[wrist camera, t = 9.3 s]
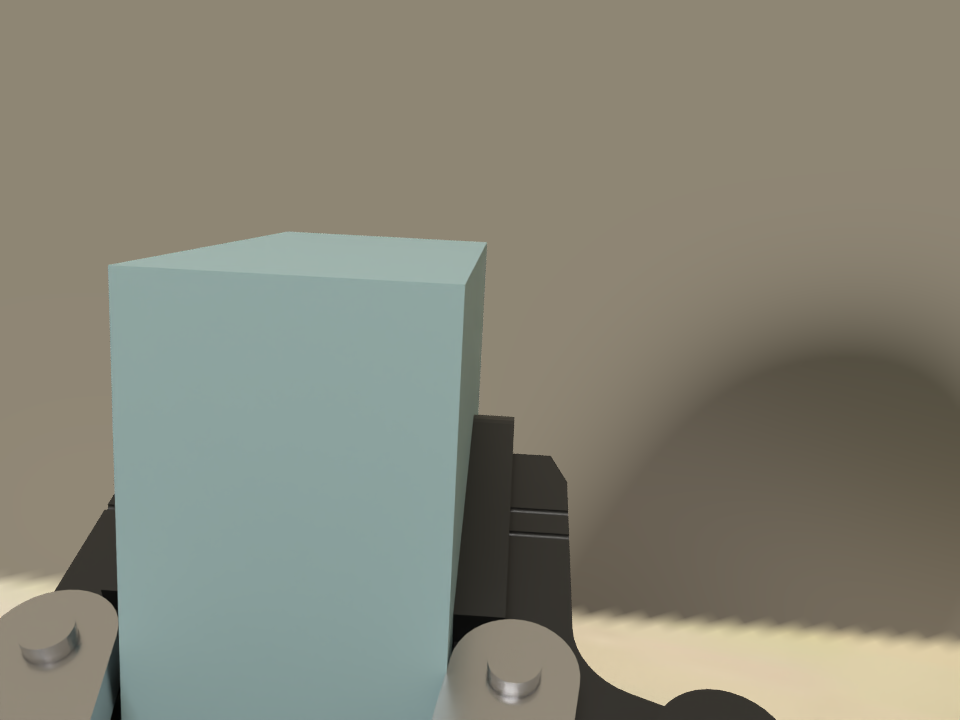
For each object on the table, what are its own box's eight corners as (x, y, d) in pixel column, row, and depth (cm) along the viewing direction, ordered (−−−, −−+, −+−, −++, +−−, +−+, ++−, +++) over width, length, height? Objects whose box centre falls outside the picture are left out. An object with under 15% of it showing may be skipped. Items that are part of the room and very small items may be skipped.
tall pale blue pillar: (139, 1360, 10) (109, 265, 7) (281, 918, 16) (287, 231, 13) (411, 1384, 10) (464, 283, 7) (451, 931, 16) (487, 242, 13)
